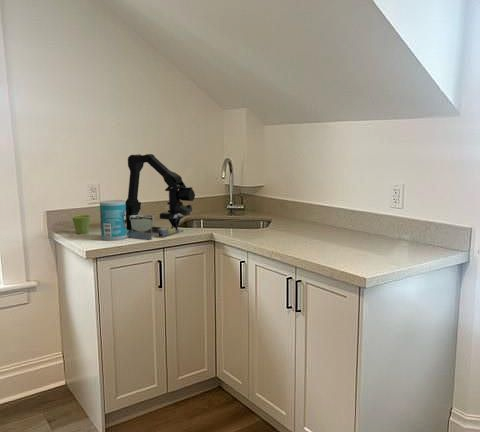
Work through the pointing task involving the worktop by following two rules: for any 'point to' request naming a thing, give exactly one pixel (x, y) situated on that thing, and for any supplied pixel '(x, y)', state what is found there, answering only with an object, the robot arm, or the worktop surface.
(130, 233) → the bracket
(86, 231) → the plant pot
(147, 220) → the food container
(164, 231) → the clip rail
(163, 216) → the robot arm
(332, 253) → the worktop surface
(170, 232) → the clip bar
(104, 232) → the food can
